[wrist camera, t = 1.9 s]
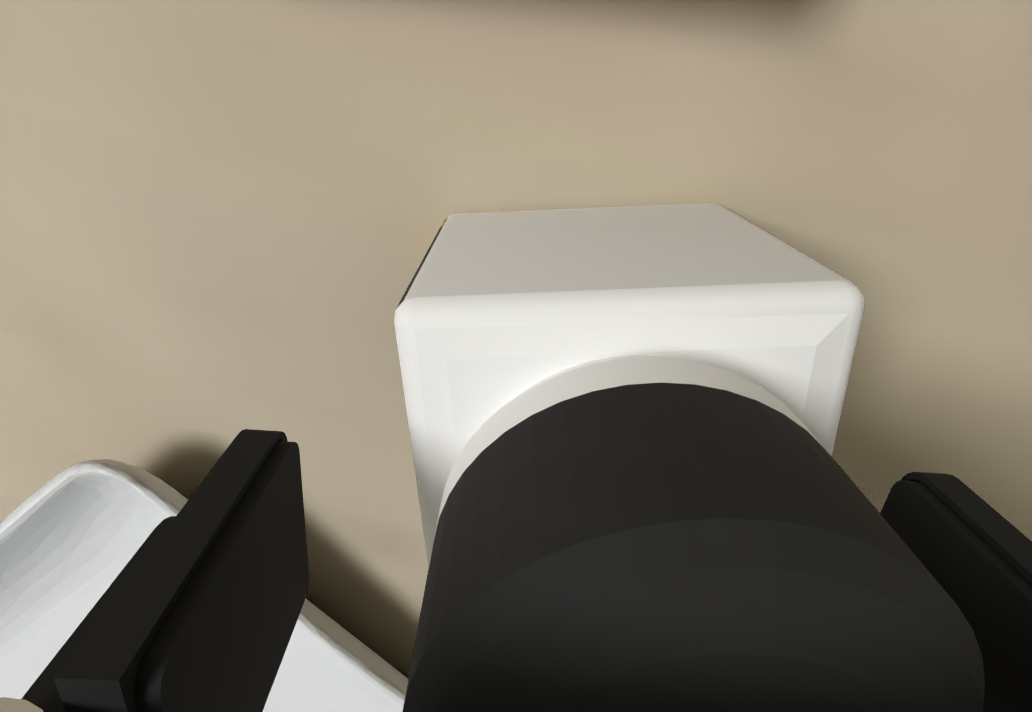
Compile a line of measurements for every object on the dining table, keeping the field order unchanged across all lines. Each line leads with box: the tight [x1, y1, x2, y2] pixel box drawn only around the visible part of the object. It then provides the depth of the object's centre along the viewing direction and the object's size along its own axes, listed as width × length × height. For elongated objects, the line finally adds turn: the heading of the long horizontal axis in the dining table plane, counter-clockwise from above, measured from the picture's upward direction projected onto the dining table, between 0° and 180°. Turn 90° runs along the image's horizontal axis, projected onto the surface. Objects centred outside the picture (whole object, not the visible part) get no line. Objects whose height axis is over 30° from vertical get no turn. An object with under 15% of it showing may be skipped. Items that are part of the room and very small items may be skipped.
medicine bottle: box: [394, 203, 985, 712], centre depth 11 cm, size 7×7×12 cm
